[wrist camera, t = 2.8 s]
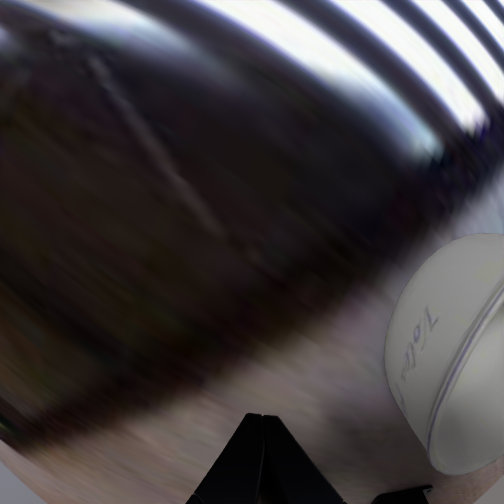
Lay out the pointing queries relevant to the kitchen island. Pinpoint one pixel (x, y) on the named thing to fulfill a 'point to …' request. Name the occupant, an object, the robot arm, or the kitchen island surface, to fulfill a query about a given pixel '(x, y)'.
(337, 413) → the kitchen island surface
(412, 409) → the teacup
